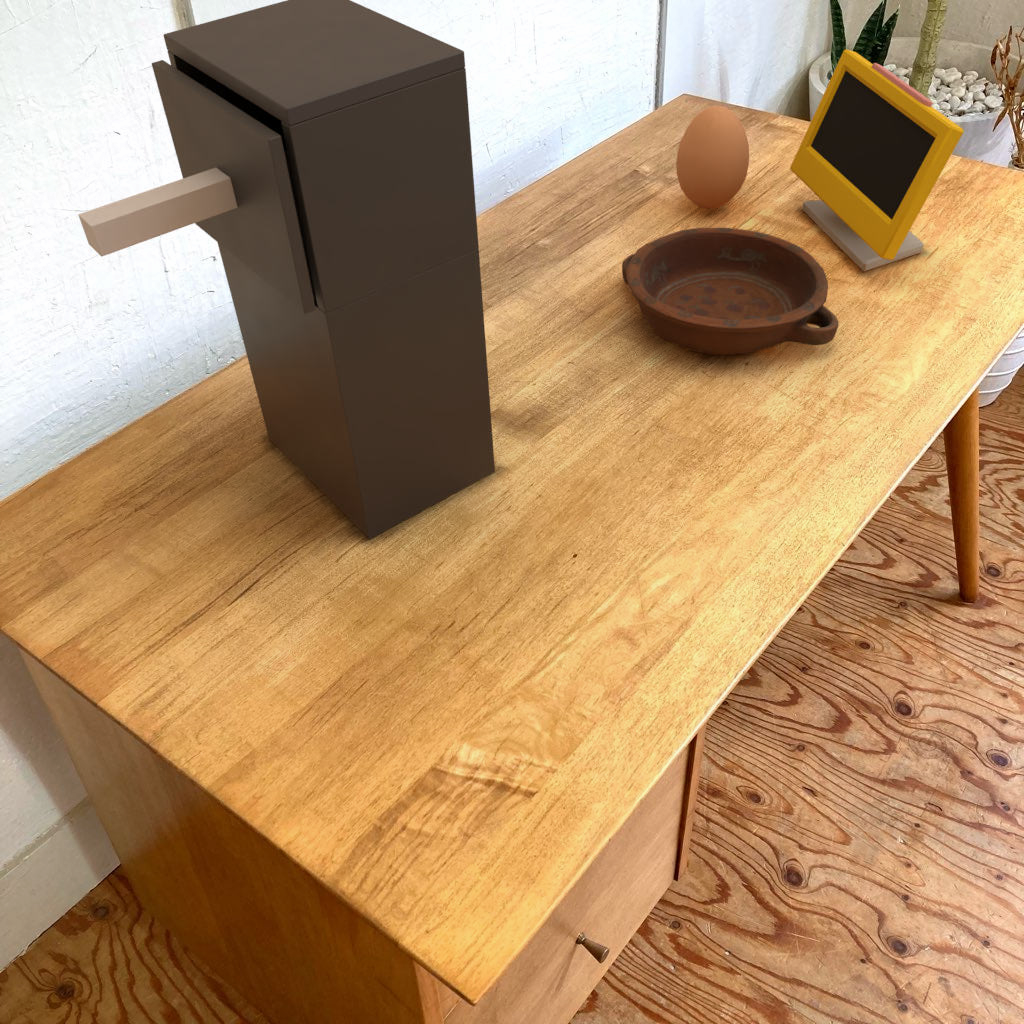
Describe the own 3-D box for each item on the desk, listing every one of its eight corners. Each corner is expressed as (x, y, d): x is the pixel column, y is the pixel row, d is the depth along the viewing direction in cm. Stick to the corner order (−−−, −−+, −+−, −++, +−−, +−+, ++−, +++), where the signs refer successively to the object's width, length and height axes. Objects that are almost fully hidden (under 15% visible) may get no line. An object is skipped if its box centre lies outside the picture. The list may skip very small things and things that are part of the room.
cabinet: (369, 539, 79) (285, 108, 57) (268, 438, 89) (162, 33, 66) (495, 471, 85) (464, 50, 62) (387, 382, 94) (326, -12, 71)
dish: (788, 405, 89) (797, 356, 86) (571, 328, 99) (571, 281, 96) (869, 309, 99) (879, 262, 96) (664, 247, 109) (667, 203, 106)
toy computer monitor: (784, 197, 116) (806, 51, 105) (850, 186, 117) (878, 40, 106) (874, 289, 101) (909, 130, 91) (947, 276, 103) (991, 117, 92)
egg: (757, 201, 115) (769, 103, 108) (719, 229, 111) (729, 129, 104) (698, 183, 119) (706, 87, 112) (659, 209, 115) (665, 111, 108)
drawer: (171, 373, 61) (112, 192, 54) (73, 270, 71) (10, 103, 63) (458, 251, 70) (442, 81, 62) (337, 174, 79) (311, 17, 72)
